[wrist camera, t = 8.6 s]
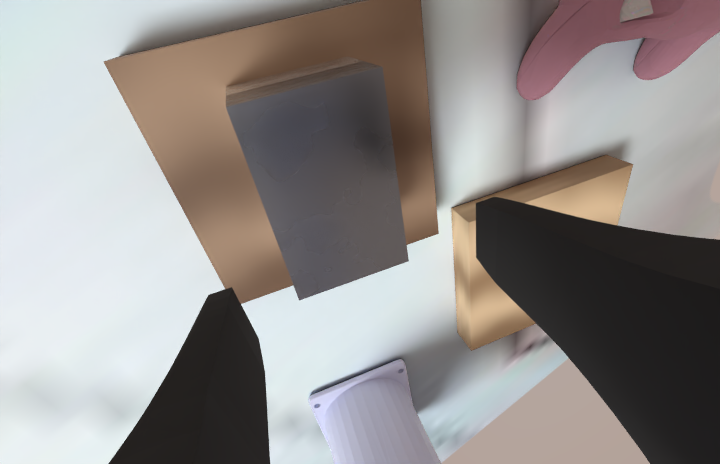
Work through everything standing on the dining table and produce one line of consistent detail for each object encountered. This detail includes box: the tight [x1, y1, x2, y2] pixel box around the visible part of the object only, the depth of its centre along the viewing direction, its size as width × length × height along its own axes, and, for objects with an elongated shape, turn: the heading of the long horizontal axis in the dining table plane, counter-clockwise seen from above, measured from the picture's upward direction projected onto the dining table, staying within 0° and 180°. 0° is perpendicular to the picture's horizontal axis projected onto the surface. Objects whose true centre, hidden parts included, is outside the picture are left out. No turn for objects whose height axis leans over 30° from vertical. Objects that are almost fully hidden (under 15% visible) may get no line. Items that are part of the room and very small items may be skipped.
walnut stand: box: [104, 0, 438, 304], centre depth 17 cm, size 12×12×2 cm
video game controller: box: [517, 0, 720, 100], centre depth 18 cm, size 10×5×7 cm, turn 95°
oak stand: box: [451, 155, 633, 351], centre depth 26 cm, size 12×12×2 cm
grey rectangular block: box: [226, 56, 409, 300], centre depth 15 cm, size 5×8×4 cm, turn 11°
